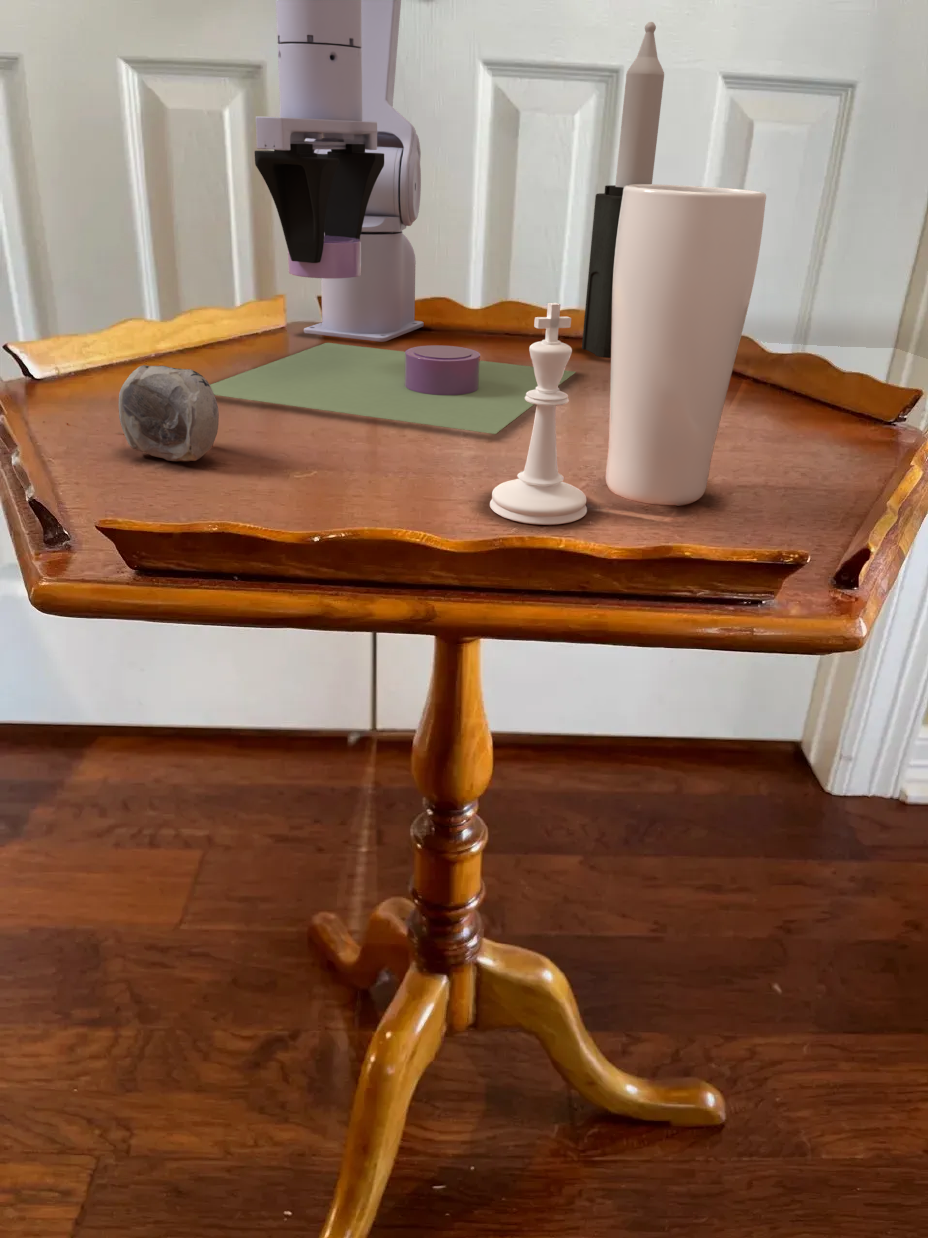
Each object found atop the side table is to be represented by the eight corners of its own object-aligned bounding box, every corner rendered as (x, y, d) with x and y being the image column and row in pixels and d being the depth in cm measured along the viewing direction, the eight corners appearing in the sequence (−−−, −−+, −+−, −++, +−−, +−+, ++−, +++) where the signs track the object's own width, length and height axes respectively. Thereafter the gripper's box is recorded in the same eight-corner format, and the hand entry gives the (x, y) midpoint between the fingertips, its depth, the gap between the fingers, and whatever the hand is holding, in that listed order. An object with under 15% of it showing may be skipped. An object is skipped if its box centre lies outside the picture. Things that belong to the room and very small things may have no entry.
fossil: (107, 455, 55) (96, 364, 53) (146, 440, 58) (137, 353, 56) (204, 472, 53) (197, 379, 51) (240, 456, 56) (234, 367, 54)
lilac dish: (310, 266, 77) (309, 232, 76) (373, 272, 76) (373, 237, 74) (274, 274, 73) (273, 238, 71) (341, 280, 71) (340, 243, 70)
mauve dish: (421, 374, 75) (422, 341, 74) (488, 383, 73) (490, 349, 72) (392, 389, 70) (392, 354, 69) (463, 398, 69) (465, 362, 68)
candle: (577, 348, 88) (606, 21, 77) (629, 347, 89) (665, 26, 78) (601, 361, 84) (635, 15, 73) (655, 359, 85) (697, 21, 74)
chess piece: (604, 519, 49) (627, 311, 45) (513, 529, 47) (528, 313, 43) (559, 488, 53) (576, 294, 49) (474, 496, 51) (484, 296, 47)
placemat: (326, 345, 85) (326, 342, 85) (575, 375, 78) (576, 371, 78) (191, 395, 68) (191, 391, 68) (495, 438, 61) (495, 433, 61)
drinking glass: (580, 472, 56) (608, 181, 49) (698, 474, 56) (741, 187, 50) (604, 514, 50) (640, 189, 43) (735, 516, 50) (790, 196, 44)
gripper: (323, 38, 60) (327, 272, 66) (414, 56, 72) (411, 252, 79) (222, 36, 62) (236, 264, 68) (328, 54, 75) (332, 246, 81)
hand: (324, 257), depth 74 cm, fingers closed on lilac dish, 5 cm apart
